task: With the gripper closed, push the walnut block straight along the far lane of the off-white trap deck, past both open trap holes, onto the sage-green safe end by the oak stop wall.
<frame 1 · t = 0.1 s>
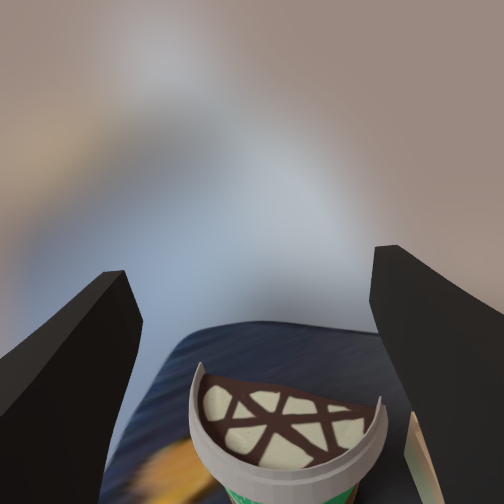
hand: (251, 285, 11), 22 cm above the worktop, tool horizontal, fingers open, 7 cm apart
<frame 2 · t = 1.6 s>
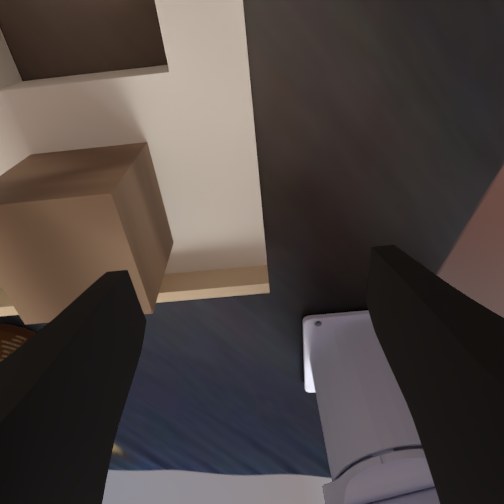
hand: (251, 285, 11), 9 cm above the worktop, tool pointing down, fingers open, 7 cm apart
trap deck: (32, 104, 17), on the worktop
food container: (54, 370, 27), on the worktop
walnut block: (107, 201, 17), point 2 cm above the worktop, touching trap deck
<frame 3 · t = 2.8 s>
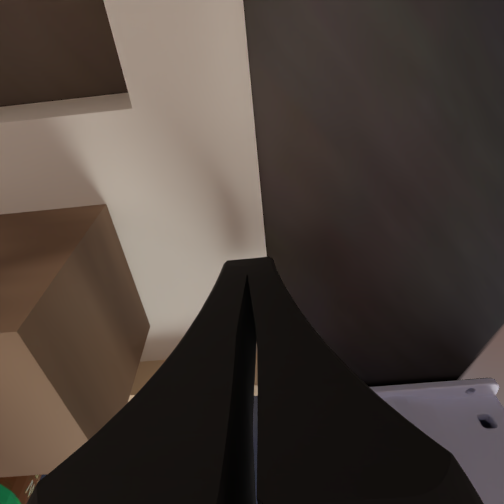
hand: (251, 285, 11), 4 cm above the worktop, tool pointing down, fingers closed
food container: (17, 445, 23), on the worktop
walnut block: (56, 278, 12), point 2 cm above the worktop, touching trap deck
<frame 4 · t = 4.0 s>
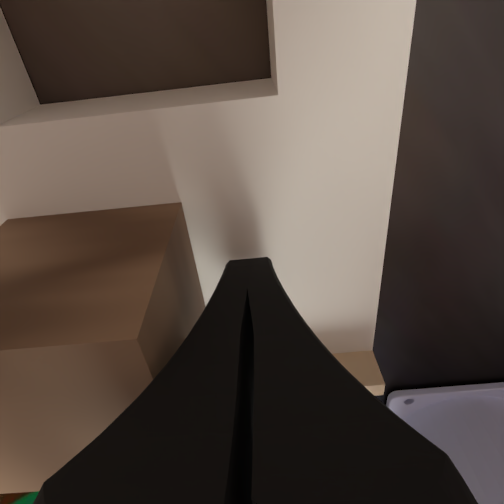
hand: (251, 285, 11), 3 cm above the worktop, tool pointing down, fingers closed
trap deck: (53, 137, 11), on the worktop
food container: (72, 447, 22), on the worktop
walnut block: (120, 280, 12), point 3 cm above the worktop, touching gripper, trap deck
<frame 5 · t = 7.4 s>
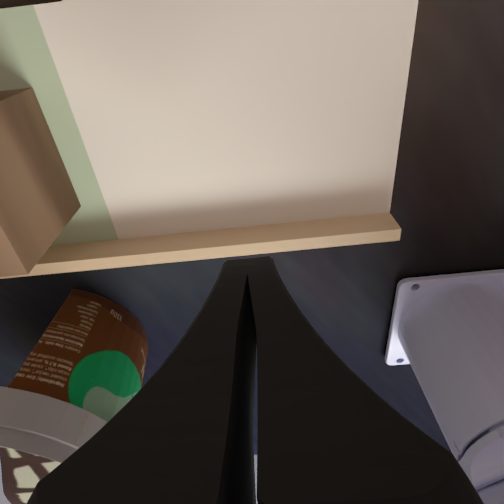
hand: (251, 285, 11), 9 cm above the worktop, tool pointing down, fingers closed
trap deck: (144, 25, 15), on the worktop
food container: (121, 343, 26), on the worktop
walnut block: (0, 158, 15), point 2 cm above the worktop, touching trap deck
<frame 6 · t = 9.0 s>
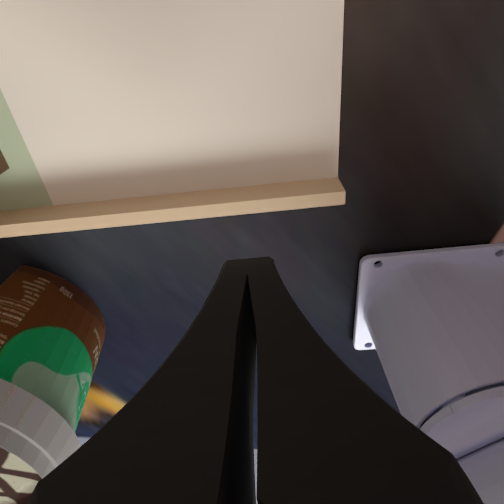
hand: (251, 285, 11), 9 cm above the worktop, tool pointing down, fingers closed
food container: (78, 324, 25), on the worktop
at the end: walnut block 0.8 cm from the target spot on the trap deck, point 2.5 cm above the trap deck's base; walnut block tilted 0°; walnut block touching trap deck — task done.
